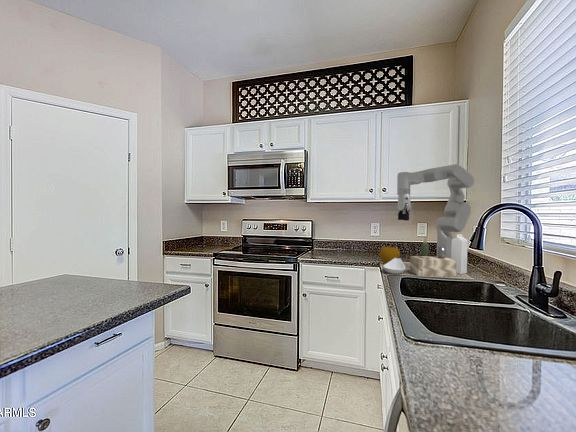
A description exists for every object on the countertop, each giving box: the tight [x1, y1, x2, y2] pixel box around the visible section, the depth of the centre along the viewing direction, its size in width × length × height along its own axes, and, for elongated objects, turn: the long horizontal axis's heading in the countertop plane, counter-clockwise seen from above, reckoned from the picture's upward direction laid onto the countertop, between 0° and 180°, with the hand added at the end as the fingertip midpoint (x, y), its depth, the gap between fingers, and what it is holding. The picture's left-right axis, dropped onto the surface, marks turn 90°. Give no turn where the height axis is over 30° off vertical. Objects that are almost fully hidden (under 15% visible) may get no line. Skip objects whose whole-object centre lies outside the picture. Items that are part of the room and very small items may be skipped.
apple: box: [378, 246, 401, 265], centre depth 197 cm, size 13×13×11 cm
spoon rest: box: [382, 257, 406, 275], centre depth 173 cm, size 24×12×7 cm, turn 152°
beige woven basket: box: [409, 247, 457, 277], centre depth 166 cm, size 20×11×15 cm, turn 90°
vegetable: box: [420, 236, 430, 256], centre depth 178 cm, size 4×4×20 cm
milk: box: [451, 233, 469, 275], centre depth 172 cm, size 6×6×22 cm
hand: (403, 220), depth 186 cm, fingers open, 9 cm apart
